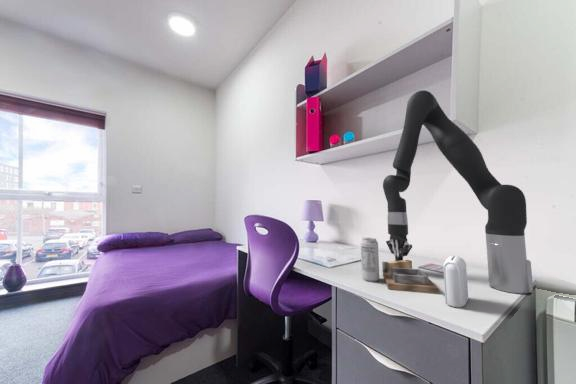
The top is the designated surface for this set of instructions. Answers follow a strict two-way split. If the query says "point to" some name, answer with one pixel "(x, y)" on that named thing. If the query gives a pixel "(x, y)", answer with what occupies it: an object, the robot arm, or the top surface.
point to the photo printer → (455, 281)
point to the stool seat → (409, 280)
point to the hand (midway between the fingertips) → (399, 265)
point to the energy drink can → (369, 259)
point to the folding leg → (396, 265)
